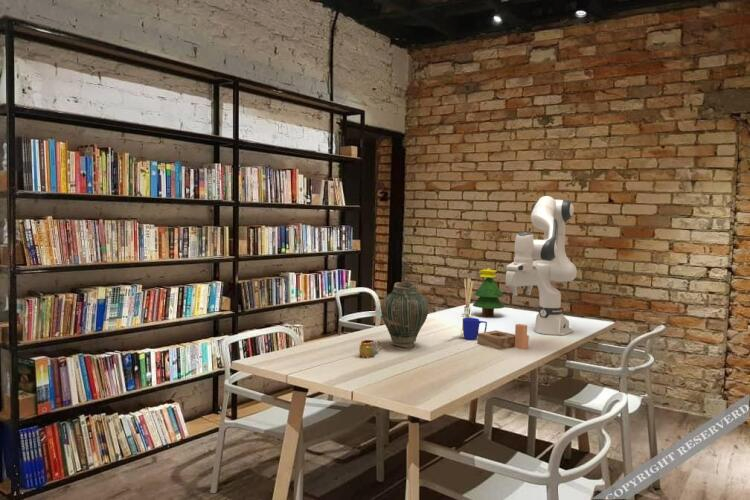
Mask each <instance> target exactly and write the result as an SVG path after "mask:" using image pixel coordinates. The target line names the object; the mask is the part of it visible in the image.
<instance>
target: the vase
mask: <svg viewBox="0 0 750 500" xmlns="http://www.w3.org/2000/svg"><path fill="white" fill-rule="evenodd" d="M417 289H418V288H417V286H416V284H415V283H414V282H412V281H401V282H399V281H397V282H395V283H394V285H393V289H392V291H391V292H390V293H388V294H387V295H385V296H384V298H383V300H382V302H381V305H380V306H381V307H380V311H381V317H382V320H383V322H384V323H383V324H384V325H385V327H386V329H387V331H388V333H389V336H390V339H391V341H392V343H391V344H392V346H393V345H394V346H397V347H401V348H406V349H407V348H408V349H410V348H414V347H415V342H416V341H417V337H418V335H419V333H420V331H421V329H422V327H423V326H424V324H425V322H426V320H427V318H428V314H429V309H430V307H429V303H428V299H427V298H426V297H425V295H423V294H421V293H419V292H418V290H417Z"/></svg>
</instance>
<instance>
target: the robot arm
mask: <svg viewBox="0 0 750 500" xmlns="http://www.w3.org/2000/svg"><path fill="white" fill-rule="evenodd" d="M574 211H575V207H574V203H573V202H572V201H571V200H568V199H555V198H553V197H552V196H549V195H544V196H541V197H540V198H539V199H538V200H537V201H533V202H532V205H531V210H530V213H531V214H530V221H531V224H532V226H534V227H535V228H537V230H540V231H543V232H544V233H543V239H534V234H533V233H532V232H529V231H520V232H517V234H516V236H515V240H514V257H513V261H512V262H511V263H509V264H507V265H506V268H505V269H506V272H505V285H506V286H507V287H510V289H511V291H512V296H513V297H517V296H519V291H518V292H517V289H518V287H527V289H526V290H525V295H527V296H530V295H531V292H532V289H533V286H537V289H538V297H539V301H538V302H539V304H538V306H537V312H538V313H537V314H536V317H535V325H534V327H533V328H532V329H533V330H534V332H535V333H538V334H543V335H549V336H550V335H551V336H555V335H556V336H566V335H569V334H571V333H573V332H574V329H572V328H570V321H569V320H568V318H566V316H564V314H563V312H565V311H566V308H565V307H564V306H561V305H562V304H561V303H562V301H561V300H562V294H561V291H560V290H558V289H557V288H556V287H554V286H553V285H552V284H551V282H557V283H558V282H559V283H560V282H561V283H564V282H565V283H566V282H572V281H574V280H575V279H576V276H577V273H578V272H577V271H578V270H577V267H576V265H575V264H574V263H573V262H572V261H571V260H570V259H569V257H568V256H567V254H566V250H565V249H566V223H567V222H568V221H569V220H570V219H571V218H572V217H573V216H574Z"/></svg>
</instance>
